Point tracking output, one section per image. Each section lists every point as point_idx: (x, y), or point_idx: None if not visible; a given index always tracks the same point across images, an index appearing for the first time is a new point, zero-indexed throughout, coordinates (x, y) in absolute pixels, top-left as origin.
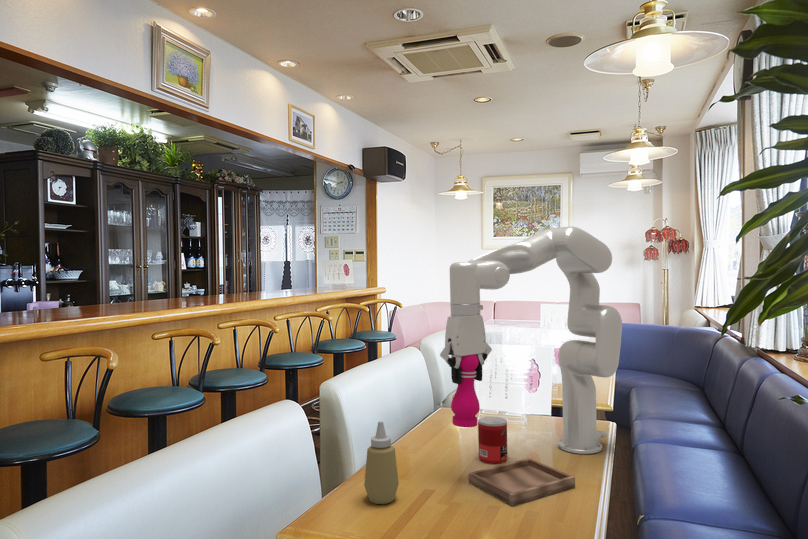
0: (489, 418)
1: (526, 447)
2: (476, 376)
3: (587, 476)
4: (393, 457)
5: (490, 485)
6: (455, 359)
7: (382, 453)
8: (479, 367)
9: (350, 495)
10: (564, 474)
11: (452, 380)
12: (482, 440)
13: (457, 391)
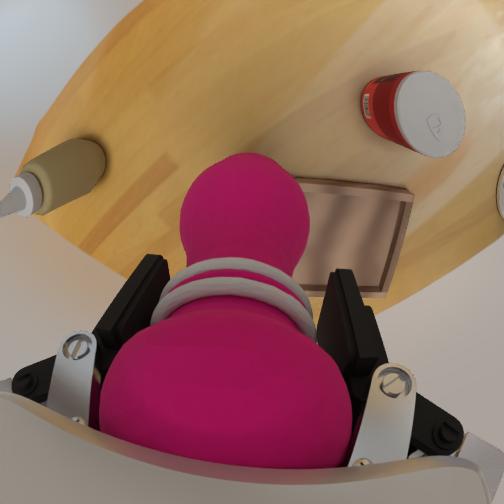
0: (444, 90)
1: (477, 116)
2: (325, 320)
3: (428, 270)
4: (57, 207)
5: None
6: (97, 406)
7: (35, 213)
8: None
9: (61, 126)
10: (385, 283)
11: (144, 261)
12: (376, 105)
13: (186, 253)
